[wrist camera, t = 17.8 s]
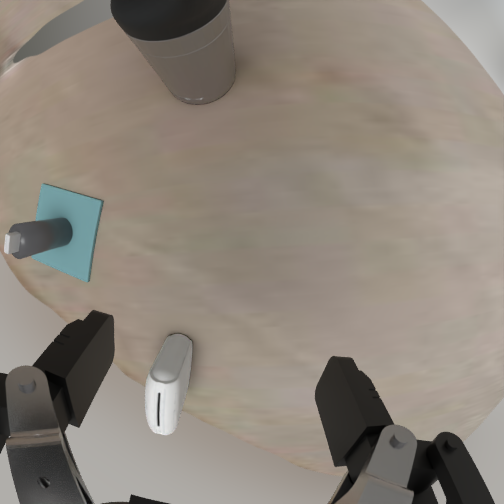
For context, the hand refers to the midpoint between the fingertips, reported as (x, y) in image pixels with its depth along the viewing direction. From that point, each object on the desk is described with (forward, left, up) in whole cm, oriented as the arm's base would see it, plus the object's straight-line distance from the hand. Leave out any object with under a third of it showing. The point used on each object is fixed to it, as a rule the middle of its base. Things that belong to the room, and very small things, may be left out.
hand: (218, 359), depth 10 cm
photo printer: (+20, -4, -28) cm, 34 cm away
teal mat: (+6, -26, -28) cm, 38 cm away
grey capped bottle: (+6, -26, -27) cm, 38 cm away
